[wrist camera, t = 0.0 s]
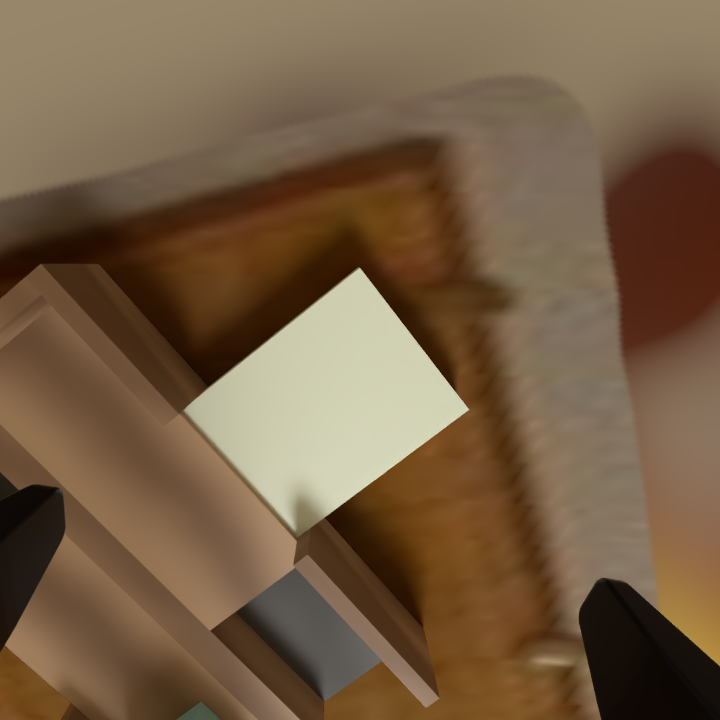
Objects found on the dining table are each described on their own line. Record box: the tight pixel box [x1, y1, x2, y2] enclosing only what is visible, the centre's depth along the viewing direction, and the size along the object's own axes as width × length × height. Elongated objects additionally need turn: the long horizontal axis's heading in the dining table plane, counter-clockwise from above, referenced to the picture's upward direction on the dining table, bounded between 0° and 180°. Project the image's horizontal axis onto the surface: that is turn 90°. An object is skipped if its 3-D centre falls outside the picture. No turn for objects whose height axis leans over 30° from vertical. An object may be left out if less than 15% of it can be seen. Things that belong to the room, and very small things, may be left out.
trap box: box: [0, 264, 440, 720], centre depth 23 cm, size 16×25×4 cm, turn 38°
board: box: [182, 268, 469, 538], centre depth 22 cm, size 10×8×2 cm
